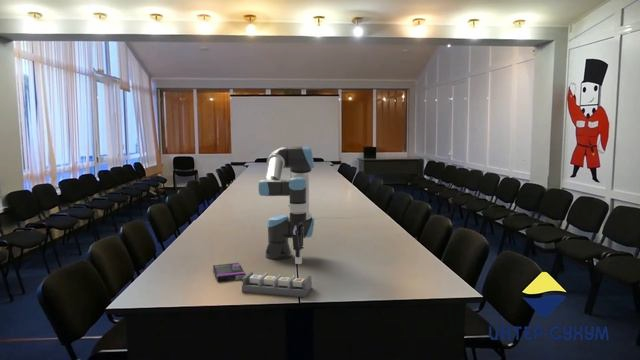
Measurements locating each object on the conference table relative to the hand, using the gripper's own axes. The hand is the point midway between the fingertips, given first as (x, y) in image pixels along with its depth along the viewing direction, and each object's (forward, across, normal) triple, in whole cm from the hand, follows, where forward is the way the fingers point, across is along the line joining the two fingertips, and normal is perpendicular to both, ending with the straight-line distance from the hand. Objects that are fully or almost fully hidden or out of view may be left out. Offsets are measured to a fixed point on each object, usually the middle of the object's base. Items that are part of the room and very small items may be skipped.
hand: (298, 263), depth 202 cm
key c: (+10, 0, 0) cm, 10 cm away
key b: (+10, 0, -21) cm, 24 cm away
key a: (+10, 0, -7) cm, 13 cm away
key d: (+10, 0, -14) cm, 18 cm away
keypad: (+13, 0, -11) cm, 17 cm away
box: (+14, -15, -42) cm, 47 cm away
